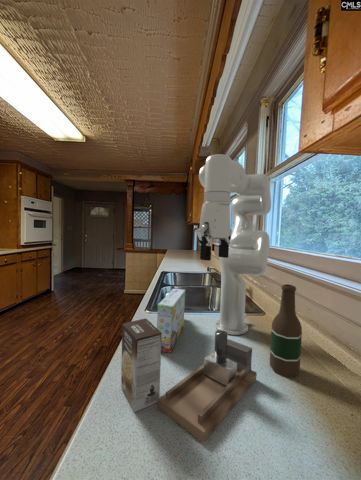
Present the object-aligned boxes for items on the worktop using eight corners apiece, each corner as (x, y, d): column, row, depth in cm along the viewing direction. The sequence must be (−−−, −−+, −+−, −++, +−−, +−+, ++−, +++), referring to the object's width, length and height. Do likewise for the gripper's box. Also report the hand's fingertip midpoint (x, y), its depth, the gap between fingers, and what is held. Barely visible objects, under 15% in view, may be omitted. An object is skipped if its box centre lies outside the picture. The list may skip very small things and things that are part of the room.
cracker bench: (216, 361, 68) (217, 335, 68) (256, 379, 60) (257, 350, 60) (157, 408, 50) (158, 372, 50) (203, 442, 42) (204, 400, 42)
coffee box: (119, 387, 56) (121, 322, 55) (144, 378, 59) (145, 317, 59) (133, 413, 48) (135, 338, 47) (161, 402, 52) (163, 331, 51)
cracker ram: (212, 366, 61) (213, 326, 61) (236, 378, 57) (238, 334, 56) (203, 373, 58) (205, 331, 58) (228, 386, 54) (230, 340, 53)
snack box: (172, 353, 72) (173, 306, 71) (154, 351, 73) (156, 304, 72) (184, 326, 92) (185, 288, 92) (170, 324, 94) (172, 287, 93)
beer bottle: (301, 381, 60) (307, 290, 59) (269, 373, 63) (274, 287, 62) (297, 365, 68) (302, 284, 66) (269, 359, 70) (273, 281, 69)
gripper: (221, 203, 76) (219, 255, 77) (188, 197, 63) (186, 259, 64) (242, 202, 71) (240, 257, 72) (211, 195, 58) (209, 263, 59)
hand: (214, 258), depth 68 cm, fingers open, 9 cm apart
